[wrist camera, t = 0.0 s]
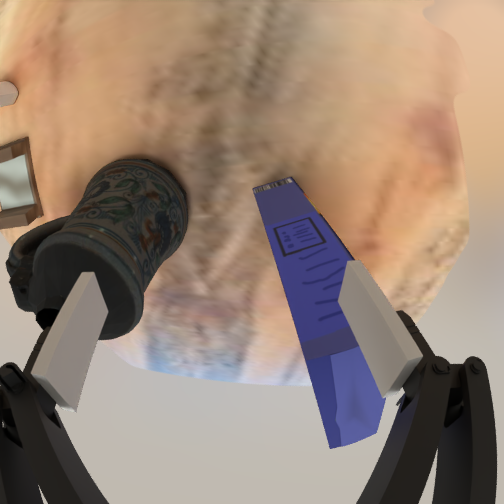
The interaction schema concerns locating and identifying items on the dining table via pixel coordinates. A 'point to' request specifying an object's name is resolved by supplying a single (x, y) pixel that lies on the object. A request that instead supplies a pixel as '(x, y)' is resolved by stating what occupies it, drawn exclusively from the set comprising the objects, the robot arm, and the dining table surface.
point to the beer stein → (103, 245)
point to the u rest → (18, 186)
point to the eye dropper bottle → (7, 93)
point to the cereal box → (320, 311)
